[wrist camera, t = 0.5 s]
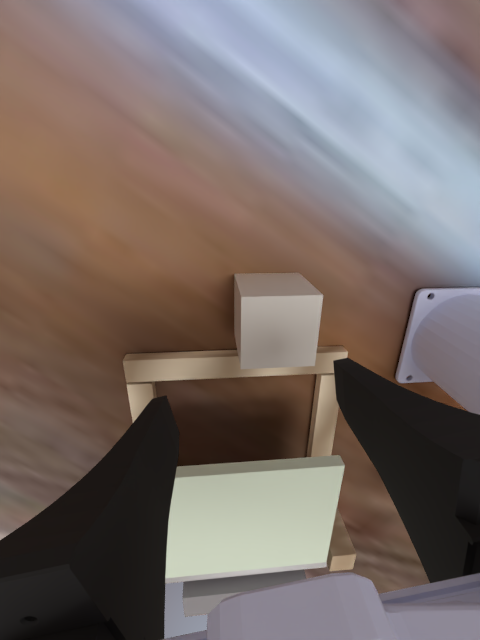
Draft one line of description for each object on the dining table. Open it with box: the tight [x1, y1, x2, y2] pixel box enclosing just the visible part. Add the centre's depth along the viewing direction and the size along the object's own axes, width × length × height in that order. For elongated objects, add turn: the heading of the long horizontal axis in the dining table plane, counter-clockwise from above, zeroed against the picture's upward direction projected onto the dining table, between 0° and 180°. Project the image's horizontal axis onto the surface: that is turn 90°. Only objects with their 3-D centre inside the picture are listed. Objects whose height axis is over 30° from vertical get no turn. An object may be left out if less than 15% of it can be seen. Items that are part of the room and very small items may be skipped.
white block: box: [234, 273, 323, 369], centre depth 20 cm, size 4×4×5 cm
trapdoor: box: [165, 455, 345, 617], centre depth 21 cm, size 12×13×2 cm
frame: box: [123, 346, 356, 571], centre depth 24 cm, size 16×20×7 cm
